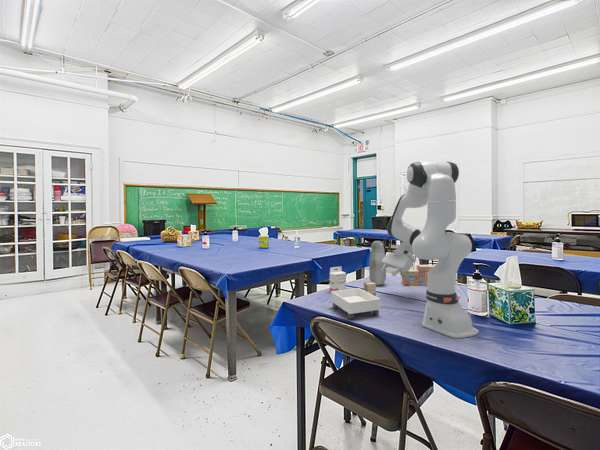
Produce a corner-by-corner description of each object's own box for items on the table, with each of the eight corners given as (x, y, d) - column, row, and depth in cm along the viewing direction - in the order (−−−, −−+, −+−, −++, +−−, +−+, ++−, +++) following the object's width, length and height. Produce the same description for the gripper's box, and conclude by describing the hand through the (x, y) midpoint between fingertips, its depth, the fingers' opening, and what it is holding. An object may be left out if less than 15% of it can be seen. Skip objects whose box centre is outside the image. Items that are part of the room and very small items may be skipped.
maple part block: (375, 302, 172) (375, 283, 172) (368, 303, 171) (368, 284, 170) (371, 299, 177) (371, 281, 176) (363, 300, 175) (363, 282, 174)
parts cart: (380, 316, 152) (380, 298, 151) (349, 321, 147) (349, 303, 146) (359, 303, 171) (359, 288, 170) (331, 307, 165) (330, 291, 165)
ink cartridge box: (333, 294, 188) (333, 269, 187) (329, 292, 192) (329, 267, 191) (346, 292, 192) (346, 267, 190) (341, 290, 196) (341, 265, 195)
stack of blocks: (403, 286, 203) (404, 266, 202) (401, 283, 209) (401, 264, 208) (439, 286, 201) (440, 266, 200) (436, 283, 207) (436, 264, 206)
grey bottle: (370, 282, 213) (370, 239, 211) (387, 283, 209) (387, 240, 207) (367, 286, 204) (367, 241, 202) (384, 287, 200) (384, 242, 198)
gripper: (388, 247, 188) (373, 265, 185) (411, 252, 168) (395, 273, 166) (395, 254, 189) (380, 272, 187) (418, 260, 170) (402, 281, 168)
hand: (387, 273), depth 176 cm, fingers open, 8 cm apart
